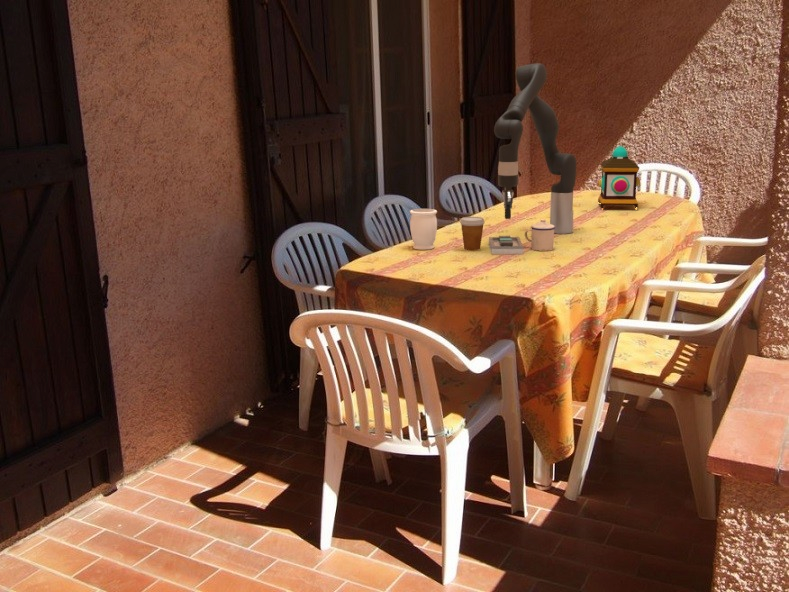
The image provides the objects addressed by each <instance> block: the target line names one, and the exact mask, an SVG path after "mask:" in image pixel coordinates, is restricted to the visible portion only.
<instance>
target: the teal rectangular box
mask: <svg viewBox="0 0 789 592" xmlns="http://www.w3.org/2000/svg"><path fill="white" fill-rule="evenodd" d="M501 241H512V239H511V238H500V244H501Z"/></svg>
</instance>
